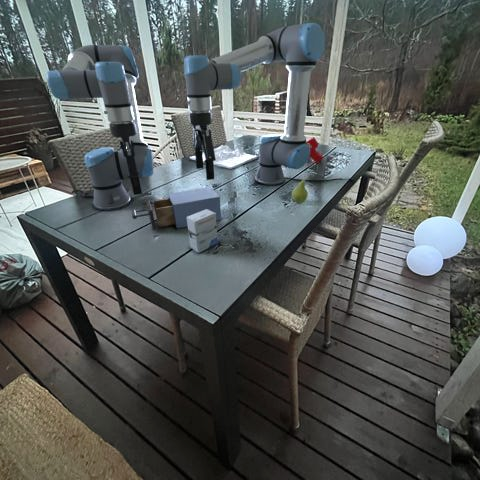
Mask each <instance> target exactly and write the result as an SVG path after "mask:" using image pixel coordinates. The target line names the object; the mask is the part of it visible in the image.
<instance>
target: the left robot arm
mask: <svg viewBox="0 0 480 480" xmlns="http://www.w3.org/2000/svg"><path fill="white" fill-rule="evenodd" d="M66 59H67V62H66V64H65V65H64V67H63V68H62V69H61V70H58V69H55V70H48V71H47V72H45V73H46V74H45V77H46V82H47V86H48V89H49V91H50V93H51V95H52V97H54V98H55V99H58V100H79V99H80V100H81V99H102V101H103V106H104V109H105V110H103V114H104V115H106V117H107V121H108V122H109V124H108V126H109V130H110V135H111V136H112V137H113V138H120V139H121V140H120V141H119V150H117V151H115V149H114V148H113V147H100V148H97V149H94V150H90V151H88V152H87V153H86V154H85V155H84V157H83V159H84V163H85V168H86V170H87V173H88V176H89V179H90V182H91V185H92V188H93V194H86V191H84V190H82V189H72V191H71V194H74V193H76V192H77V193H78V192H80V193H82V194H81V197H83V198H93V200H92V204H93V207H94V208H95V209H96V210H99V211H114V210H119V209H122V208H124V207H126V206H128V205H129V204H130V203H131V201H132V200H131V196H130V194H129V193H128V191H127V189H126V188H125V187H124V185H123V182H122V180H130V184H131V188H132V192H133V195H134V196H136V195H142V194H143V191H142V186H141V182H140V179H144V178H148V177H152V176H153V175H154V153H153V149H152V148H149V144H148V143H147V142H146V141H144V135H143V131H142V124H141V120H140V119H141V118H140V113H139V108H138V103H137V98H136V91H135V88H134V86H135V85H136V84H137V79H138V78H139V77H140V76H139V75H140V74H139V70H138V67H137V63H136V60H135V56H134V52H133V50H132V48H131V47H130V46H129V45H121V44H117V45H114V44H113V45H112V44H111V45H110V44H87V45H83V46H81V47H80V46H79V47H78V48H76V49H74V50H72V51H71V52H70V53H69V54H68V56H67V58H66Z"/></svg>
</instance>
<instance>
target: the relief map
mask: <svg viewBox="0 0 480 480" xmlns="http://www.w3.org/2000/svg"><path fill="white" fill-rule="evenodd" d="M214 153H215V158H216V160H215V161H213V163H214V166H217V167H222V168H226V169H230V170H233V169H235V168H237V167H240V166H241V165H244V164H247V163H250V162H252V161H254V160H256V159H258V155H256V154H249V153H246V152H245V151H244V149H242V148H238V149H235V150H233V149H231V148H230V147H229V146H228V145H227V144H225V145H224V144H221V145H220V146H219V147H216V148H214ZM202 154H203V164H205V162H204V160H206V158H205V154H204V151H202ZM189 160H193V161H196V158H195V155H192V156H189Z"/></svg>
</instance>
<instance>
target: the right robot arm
mask: <svg viewBox="0 0 480 480" xmlns="http://www.w3.org/2000/svg"><path fill="white" fill-rule="evenodd" d="M325 47H326V37H325V33H324V31H323V29H322V27H321V26H320V25H319V23H315V22H304V23H299V24H293V25H285V26H282V27H279V28H278V29H275V30H273V31H271V32H268V33H267V34H264V35H261V36H260V37H259V38H258V39H257V41H255V42H253V43H250V44H247V45H244V46H242V47H240V48H237V49H234V50H232V51H229V52H227V53H224V54H222V55H218V56H217V57H214V58H211V59H210V60H209V57H208V56H207V55H186V56H185V57H184V58H183V64H184V65H183V66H184V67H183V69H184V73H183V74H184V78H185V79H184V80H185V87H186V95H187V100H186V101H185V103H186V105H187V106H188V111H189V113H188V119H189V124H190V125H191V126H192V148H193V150H194V156H195V158H196V160H195V166H196V167H195V168H196V170H198V169H204V164H205V176H206V177H205V178H206V180H207V181H211V180H215V165H214V163H213V161H215V160H216V158H215V153H214V149H215V148H214V143H213V138H212V130H211V129H208V126H209V125H211V124H212V123H213V115H212V96H211V95H212V94H211V91H222V90H223V91H225V90H230V91H231V90H235V89H237V88H239V86H240V85H241V83H242V73H243V72H245V71H248V70H250V69H253V68H254V67H257V66H259V65H262V64H264V65H269V64H271V63H274V62H286V63H285V68H286V69H287V70H288V72H289V73H288V83H287V97H286V106H285V107H286V109H285V121H284V130H283V131H284V133H283V134H282V133H276V134H275V133H274V134H272V133H271V134H266V135H262V136H260V139H259V149H258V150H259V153H258V167H257V171H256V174H255V177H254V181H255V183H258V184H259V185H262V186H263V185H264V186H279V185H281V184H283V183H284V181H285V180H290V181H297V182H301V181H302V180H303V179H302V178H301V179H300V178H291V177H287V176H285V175H284V172H283V171H284V170H283V167H285V168H288V169H292V170H299V169H302V168H303V167H304V166H305V165H306V164H307V162H308V161H309V158H310V157H309V156H310V148H309V146H308V145H307V144H306V142H307V137H306V136H305V134H304V133H305V126H306V125H305V124H306V116H307V108H308V100H309V91H310V83H311V75H312V71H313V70H314V69H315V68H316V67H317V61H319V60H320V59H321V58H322V56H323V54H324V52H325ZM202 152H203V153H204V154H205V158H206V160H204V162H205V163H204V162H203V154H202ZM282 166H283V167H282ZM342 178H343V177H341V178H340V177H339V178H338V177H337V178H331V179H306V180H305V179H304V180H305V182H330V181H343V180H344V181H345V179H342ZM348 178H349V177H348ZM347 180H349V181H350V182H354V180H353V179H352V178H349V179H347Z"/></svg>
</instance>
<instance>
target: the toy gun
mask: <svg viewBox="0 0 480 480" xmlns="http://www.w3.org/2000/svg"><path fill="white" fill-rule="evenodd" d="M306 144H307V145H308V146H309V148H310V156H309V158H311V159H312V160H314V161H315V164H316V165H318V164H319V163H320V162H321V163H322V161H323V159H324V156H323V155H322V154H321V153H320V152H319V151H317V148H318V147H319V142H318V141H317V139H316V138H315V137H314V136H313V137H311V138H309V139H308V140H306ZM316 162H319V163H316Z"/></svg>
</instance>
